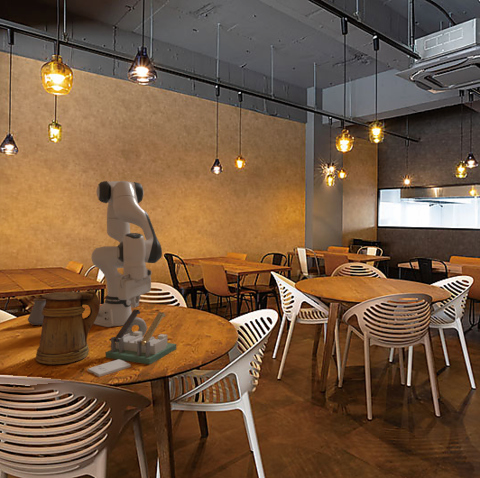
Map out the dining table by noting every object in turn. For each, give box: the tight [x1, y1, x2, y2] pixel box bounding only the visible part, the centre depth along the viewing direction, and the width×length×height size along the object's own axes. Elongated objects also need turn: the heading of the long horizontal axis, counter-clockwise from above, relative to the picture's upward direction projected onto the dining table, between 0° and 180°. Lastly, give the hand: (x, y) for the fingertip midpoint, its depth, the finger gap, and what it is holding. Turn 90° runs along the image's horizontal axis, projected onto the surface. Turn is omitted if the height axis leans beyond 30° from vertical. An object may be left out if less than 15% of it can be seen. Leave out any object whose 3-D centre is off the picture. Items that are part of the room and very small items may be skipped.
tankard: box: [35, 289, 101, 365], centre depth 158 cm, size 18×24×25 cm
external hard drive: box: [86, 359, 132, 378], centre depth 145 cm, size 2×8×12 cm
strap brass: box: [140, 311, 166, 346], centre depth 158 cm, size 2×16×2 cm
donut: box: [124, 316, 148, 337], centre depth 179 cm, size 10×4×10 cm, turn 115°
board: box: [105, 330, 177, 365], centre depth 162 cm, size 20×19×8 cm
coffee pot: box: [27, 291, 73, 326], centre depth 208 cm, size 21×12×15 cm, turn 126°
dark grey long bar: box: [114, 309, 141, 342], centre depth 163 cm, size 2×16×2 cm
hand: (135, 306), depth 167 cm, fingers closed
